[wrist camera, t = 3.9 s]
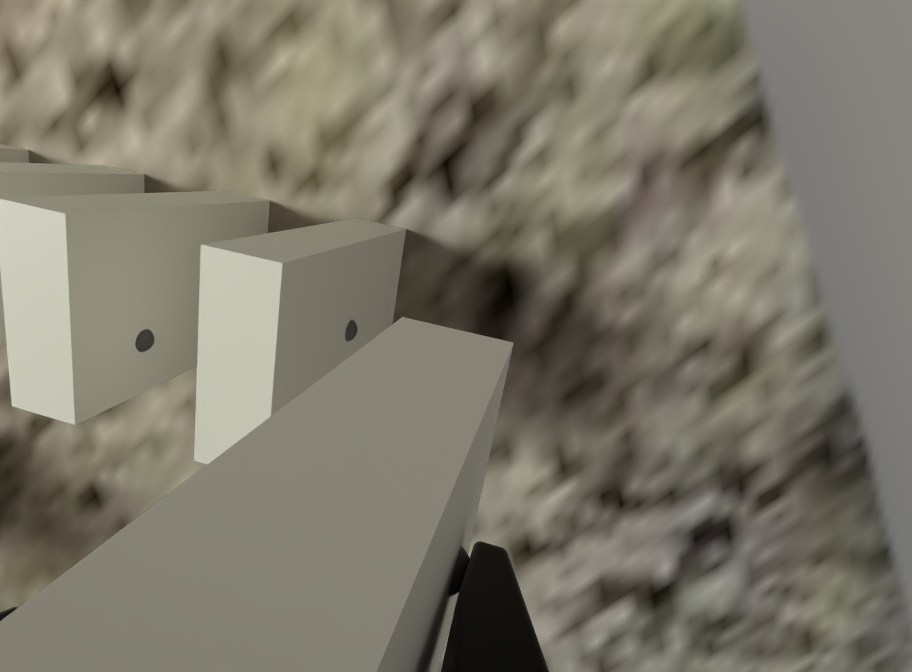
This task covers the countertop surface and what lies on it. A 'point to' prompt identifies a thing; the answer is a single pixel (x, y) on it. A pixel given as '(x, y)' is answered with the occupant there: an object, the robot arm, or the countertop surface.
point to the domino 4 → (298, 532)
